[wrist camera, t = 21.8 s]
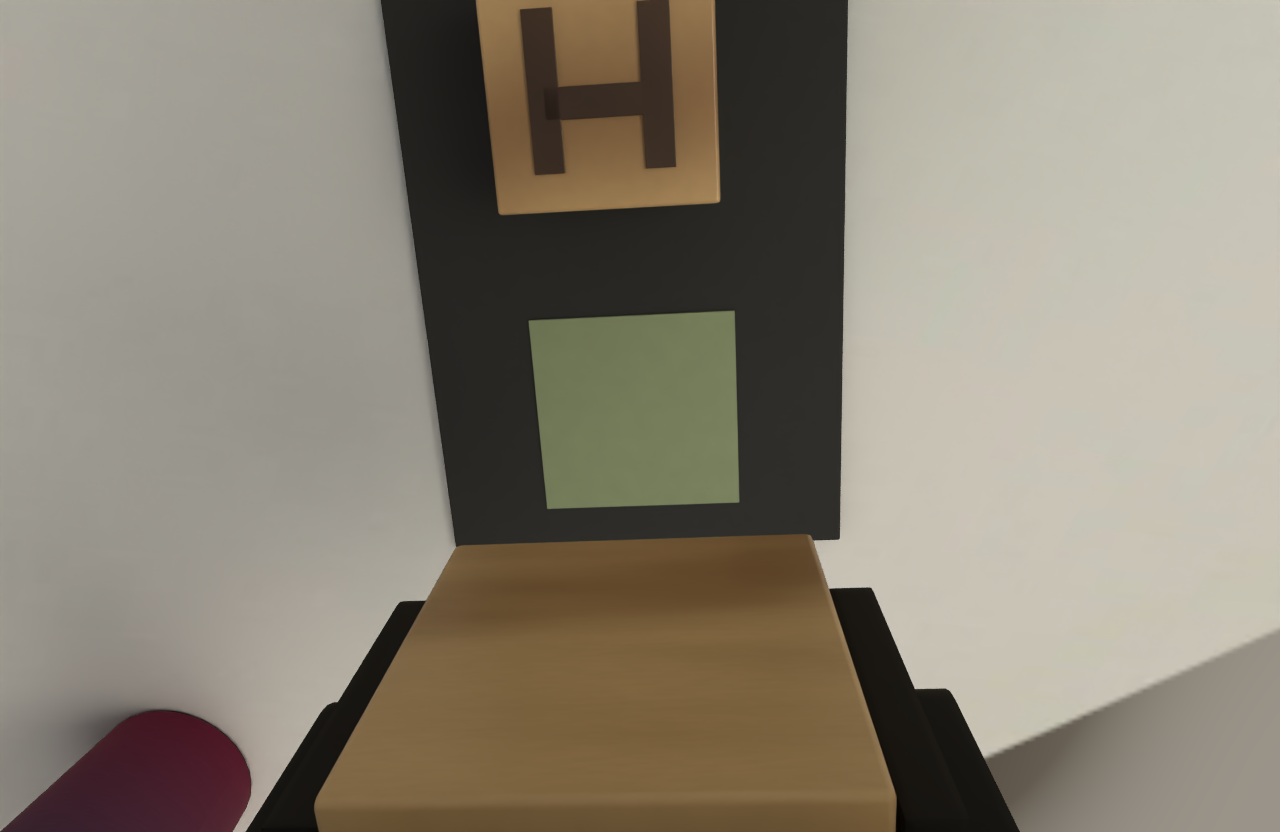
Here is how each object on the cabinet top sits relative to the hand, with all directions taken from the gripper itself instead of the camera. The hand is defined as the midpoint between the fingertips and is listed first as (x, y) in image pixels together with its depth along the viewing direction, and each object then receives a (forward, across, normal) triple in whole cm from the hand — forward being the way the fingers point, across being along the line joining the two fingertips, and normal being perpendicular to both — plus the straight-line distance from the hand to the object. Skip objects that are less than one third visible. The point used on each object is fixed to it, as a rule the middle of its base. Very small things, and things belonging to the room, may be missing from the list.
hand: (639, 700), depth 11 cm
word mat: (+13, +1, -8) cm, 15 cm away
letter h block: (+13, +1, -8) cm, 15 cm away
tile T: (0, 0, 0) cm, 0 cm away
